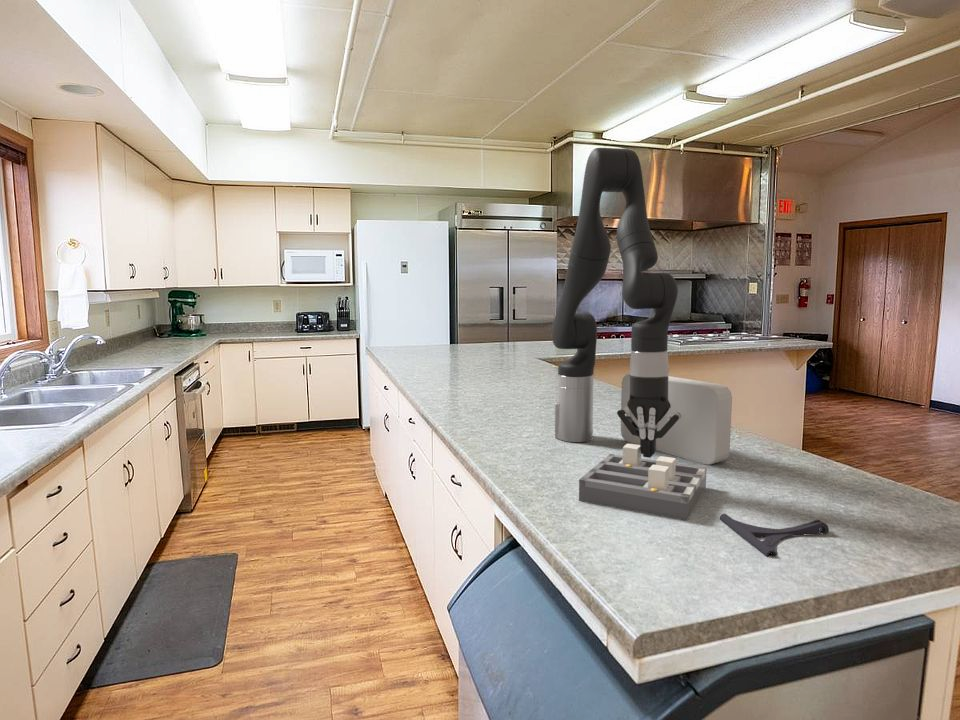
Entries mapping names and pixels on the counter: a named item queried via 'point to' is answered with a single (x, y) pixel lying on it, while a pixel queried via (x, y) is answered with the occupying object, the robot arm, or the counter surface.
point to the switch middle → (671, 464)
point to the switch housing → (642, 488)
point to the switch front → (659, 478)
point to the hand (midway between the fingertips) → (648, 456)
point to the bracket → (771, 533)
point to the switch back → (632, 455)
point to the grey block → (691, 420)
